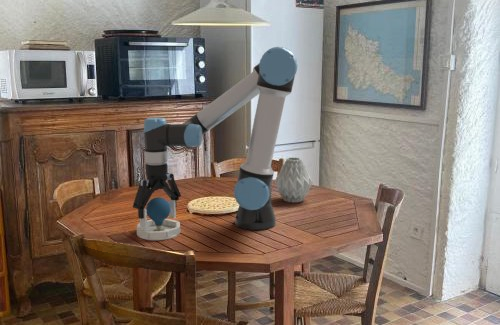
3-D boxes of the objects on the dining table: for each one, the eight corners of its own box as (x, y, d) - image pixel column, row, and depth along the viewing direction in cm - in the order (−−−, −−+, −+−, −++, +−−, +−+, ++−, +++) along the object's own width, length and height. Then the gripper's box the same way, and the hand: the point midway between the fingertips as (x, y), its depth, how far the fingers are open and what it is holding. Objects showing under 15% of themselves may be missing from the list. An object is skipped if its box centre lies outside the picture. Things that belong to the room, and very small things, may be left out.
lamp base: (189, 231, 181) (188, 224, 180) (157, 243, 169) (157, 235, 168) (159, 223, 190) (159, 216, 189) (128, 234, 178) (127, 226, 177)
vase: (271, 204, 215) (271, 161, 212) (278, 194, 231) (279, 154, 227) (309, 206, 212) (310, 163, 208) (314, 196, 227) (315, 156, 224)
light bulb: (172, 233, 176) (171, 199, 174) (148, 235, 174) (146, 201, 172) (169, 225, 184) (168, 193, 182) (146, 227, 182) (144, 195, 180)
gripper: (174, 156, 186) (176, 212, 190) (120, 167, 167) (123, 229, 171) (189, 158, 182) (191, 215, 186) (135, 170, 162) (137, 233, 167)
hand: (158, 222), depth 179 cm, fingers open, 13 cm apart
